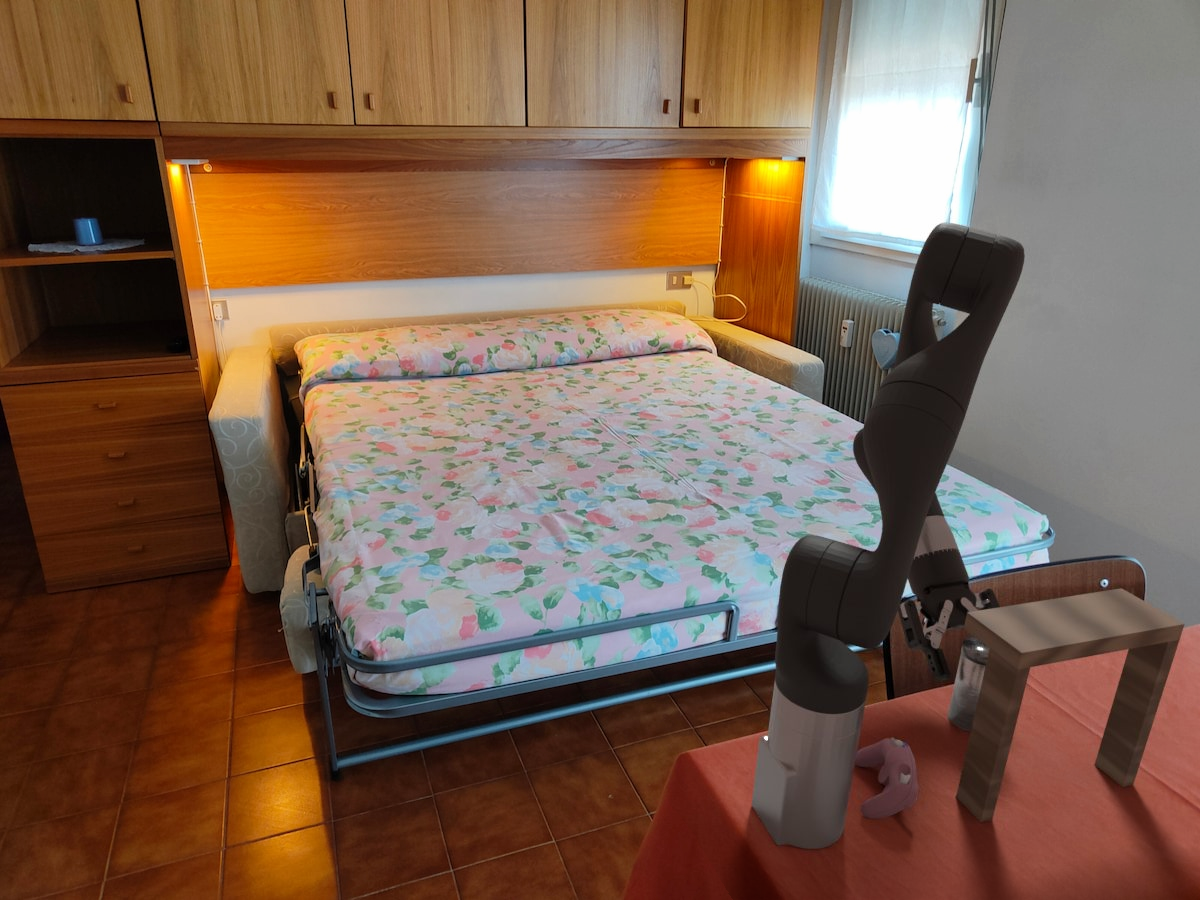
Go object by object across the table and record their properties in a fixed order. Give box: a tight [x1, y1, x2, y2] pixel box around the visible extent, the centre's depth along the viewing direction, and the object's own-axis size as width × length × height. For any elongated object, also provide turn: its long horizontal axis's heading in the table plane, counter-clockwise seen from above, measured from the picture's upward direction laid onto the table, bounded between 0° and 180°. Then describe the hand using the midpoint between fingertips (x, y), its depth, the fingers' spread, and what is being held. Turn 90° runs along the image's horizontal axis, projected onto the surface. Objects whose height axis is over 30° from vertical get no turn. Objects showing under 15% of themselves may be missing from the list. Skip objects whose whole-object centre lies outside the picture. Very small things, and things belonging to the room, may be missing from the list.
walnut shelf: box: [955, 588, 1185, 823], centre depth 94 cm, size 22×8×22 cm, turn 107°
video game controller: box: [855, 737, 920, 820], centre depth 94 cm, size 10×5×7 cm, turn 169°
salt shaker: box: [947, 636, 990, 733], centre depth 106 cm, size 5×5×11 cm
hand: (972, 674), depth 106 cm, fingers open, 8 cm apart
